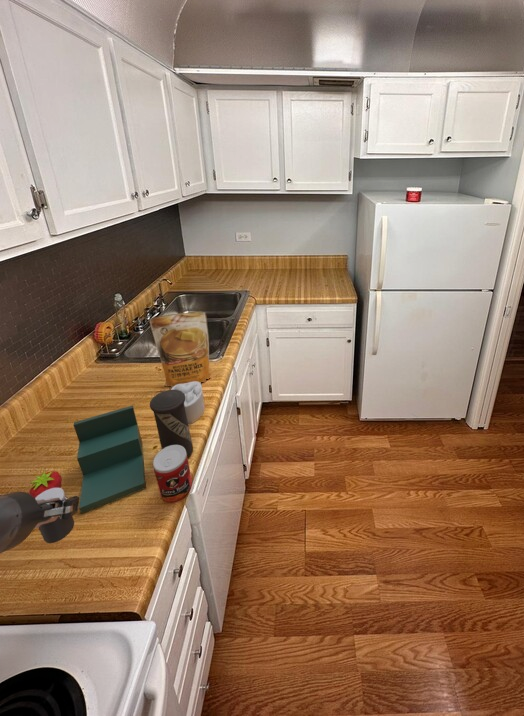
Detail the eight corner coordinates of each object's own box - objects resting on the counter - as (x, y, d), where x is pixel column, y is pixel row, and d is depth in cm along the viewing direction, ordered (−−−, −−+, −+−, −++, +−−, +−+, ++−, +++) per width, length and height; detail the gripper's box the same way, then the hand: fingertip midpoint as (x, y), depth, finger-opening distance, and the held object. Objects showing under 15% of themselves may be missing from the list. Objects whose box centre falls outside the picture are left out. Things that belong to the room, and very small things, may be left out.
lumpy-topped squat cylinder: (204, 396, 119) (201, 376, 116) (205, 420, 108) (201, 399, 105) (173, 402, 116) (169, 381, 113) (170, 428, 105) (166, 406, 102)
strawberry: (72, 486, 86) (61, 457, 82) (59, 513, 79) (46, 484, 76) (46, 491, 85) (34, 462, 81) (30, 519, 78) (16, 489, 74)
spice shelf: (81, 513, 79) (64, 471, 74) (87, 461, 93) (73, 422, 88) (145, 488, 86) (134, 447, 80) (142, 442, 100) (132, 405, 94)
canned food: (159, 508, 81) (151, 475, 77) (160, 480, 88) (153, 449, 83) (193, 497, 83) (186, 465, 79) (191, 471, 90) (185, 440, 86)
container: (176, 470, 91) (163, 412, 83) (155, 456, 95) (141, 400, 87) (200, 448, 97) (191, 393, 90) (180, 436, 102) (169, 382, 94)
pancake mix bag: (163, 380, 128) (149, 314, 118) (214, 371, 133) (205, 308, 123) (160, 390, 122) (146, 322, 112) (214, 381, 127) (205, 315, 117)
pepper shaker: (40, 549, 58) (26, 518, 55) (45, 524, 62) (33, 494, 59) (73, 535, 60) (61, 505, 57) (76, 512, 64) (65, 483, 61)
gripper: (51, 488, 49) (103, 476, 64) (-64, 504, 46) (19, 488, 62) (41, 550, 46) (98, 521, 61) (-82, 571, 43) (10, 536, 59)
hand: (58, 505), depth 61 cm, fingers closed on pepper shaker, 4 cm apart
